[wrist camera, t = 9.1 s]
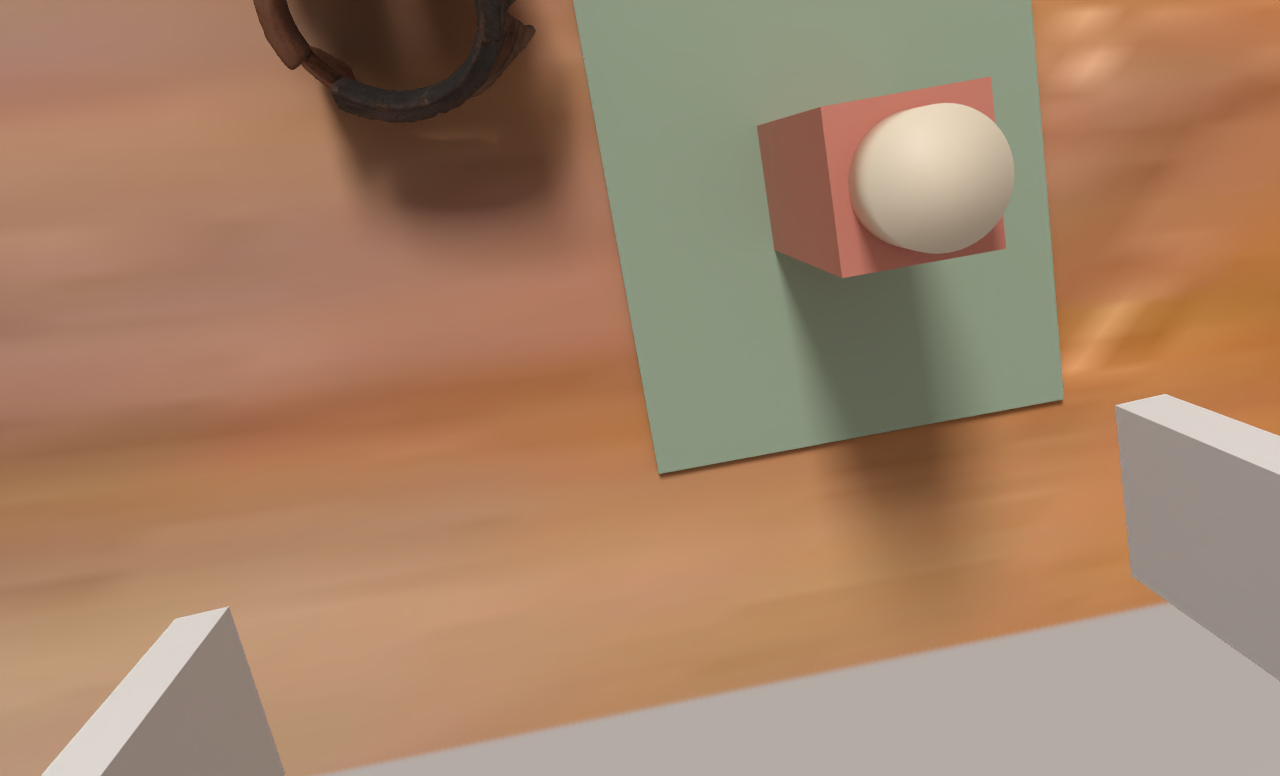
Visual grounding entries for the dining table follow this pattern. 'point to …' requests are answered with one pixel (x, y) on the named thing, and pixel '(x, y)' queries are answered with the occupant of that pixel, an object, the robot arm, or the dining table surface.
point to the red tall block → (889, 179)
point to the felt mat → (779, 284)
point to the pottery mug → (483, 66)
